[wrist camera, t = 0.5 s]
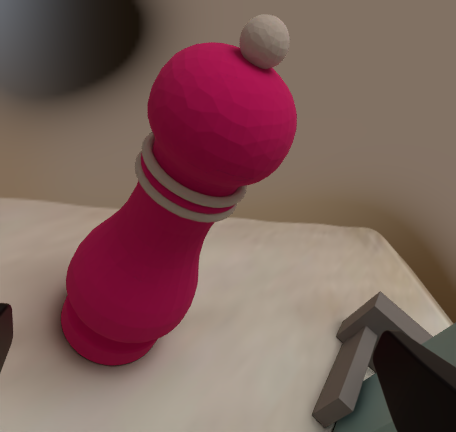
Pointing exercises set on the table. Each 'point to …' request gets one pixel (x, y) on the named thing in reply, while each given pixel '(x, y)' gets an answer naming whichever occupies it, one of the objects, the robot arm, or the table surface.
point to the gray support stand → (361, 354)
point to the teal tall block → (374, 399)
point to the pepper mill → (180, 191)
